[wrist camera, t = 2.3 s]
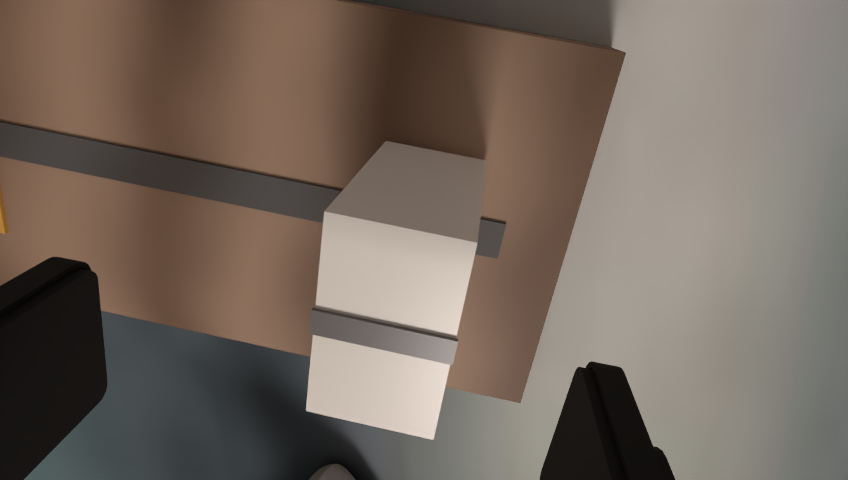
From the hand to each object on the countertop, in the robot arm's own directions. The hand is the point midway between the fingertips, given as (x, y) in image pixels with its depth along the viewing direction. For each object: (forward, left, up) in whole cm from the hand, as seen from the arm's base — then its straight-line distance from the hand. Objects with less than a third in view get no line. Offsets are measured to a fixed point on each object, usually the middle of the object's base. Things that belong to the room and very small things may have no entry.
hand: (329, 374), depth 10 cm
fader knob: (-1, 0, -7) cm, 7 cm away
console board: (+7, 0, -10) cm, 12 cm away
